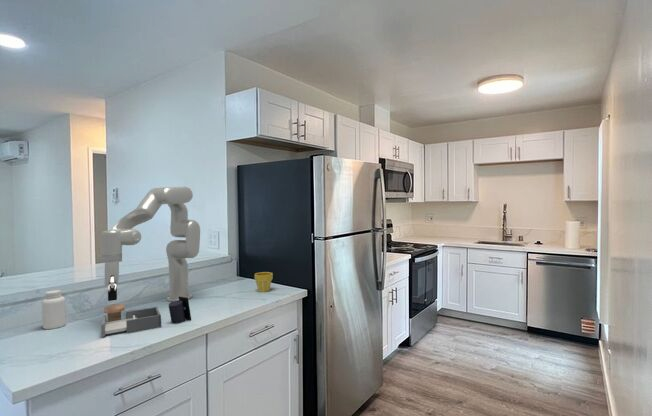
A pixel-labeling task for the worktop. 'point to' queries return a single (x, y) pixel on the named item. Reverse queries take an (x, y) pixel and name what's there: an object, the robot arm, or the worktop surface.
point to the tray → (114, 325)
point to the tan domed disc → (114, 308)
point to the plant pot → (263, 281)
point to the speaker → (179, 310)
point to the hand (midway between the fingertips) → (112, 297)
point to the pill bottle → (53, 310)
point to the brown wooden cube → (114, 316)
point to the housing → (143, 319)
